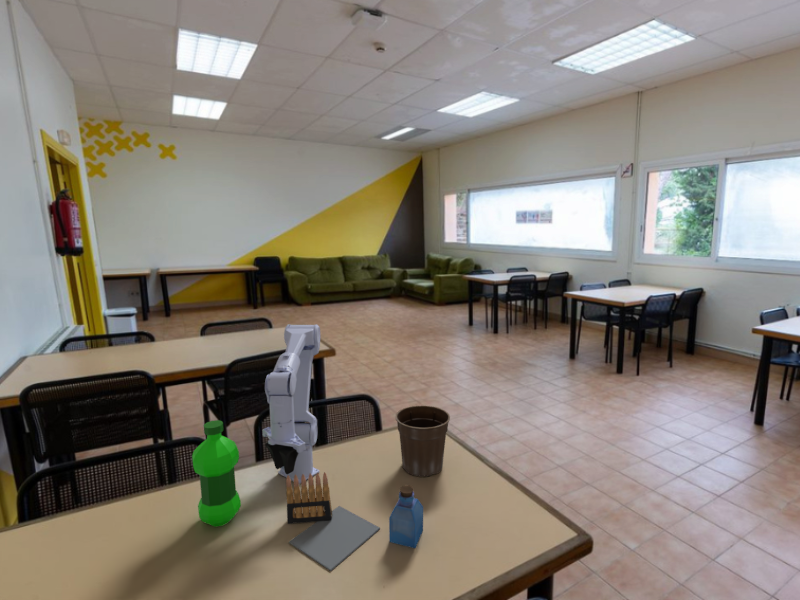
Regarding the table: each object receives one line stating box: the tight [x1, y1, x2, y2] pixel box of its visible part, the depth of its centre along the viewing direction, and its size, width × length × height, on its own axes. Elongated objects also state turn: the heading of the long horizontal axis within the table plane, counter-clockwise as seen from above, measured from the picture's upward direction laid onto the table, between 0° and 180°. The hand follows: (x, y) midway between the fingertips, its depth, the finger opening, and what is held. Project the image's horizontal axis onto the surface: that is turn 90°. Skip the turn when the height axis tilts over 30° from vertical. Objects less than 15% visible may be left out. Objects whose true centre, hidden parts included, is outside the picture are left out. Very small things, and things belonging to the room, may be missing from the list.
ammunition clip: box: [285, 472, 333, 525], centre depth 104 cm, size 11×2×12 cm, turn 93°
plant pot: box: [394, 405, 451, 478], centre depth 128 cm, size 16×16×16 cm
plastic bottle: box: [191, 419, 242, 528], centre depth 104 cm, size 10×10×25 cm
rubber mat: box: [288, 505, 381, 572], centre depth 100 cm, size 14×16×1 cm
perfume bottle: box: [388, 484, 424, 549], centre depth 99 cm, size 6×6×12 cm
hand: (284, 469), depth 108 cm, fingers open, 3 cm apart
